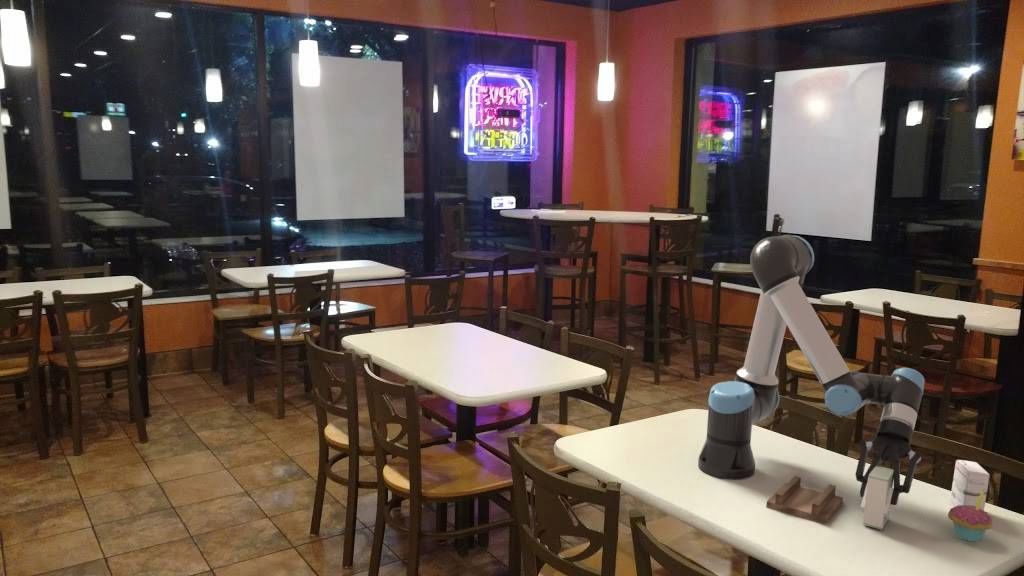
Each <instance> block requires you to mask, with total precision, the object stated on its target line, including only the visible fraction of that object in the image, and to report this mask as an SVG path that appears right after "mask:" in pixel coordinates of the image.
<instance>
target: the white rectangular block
mask: <svg viewBox="0 0 1024 576" xmlns="http://www.w3.org/2000/svg"><path fill="white" fill-rule="evenodd" d="M989 482H990V473H989V472H988V471H986V469H984V468H983V467H982V466H981V465H980V464H979V463H978V462H976V461H970V460H967V459H966V460H965V459H956V460H955V465H954V473H953V477H952V483H951V484H952V485H951V493H950V498H949V506H950V507H951V508H953V507H955V506H960V505H964V506H965V505H967V506H969V505H970V506H971V505H973V506H977V503H978V500H979V497H980V494H981V491H983V490H984V489H985V490H984V492H985V493H984V496H983V499H982V502H981V505H980V509H982V510H984V511H985V506H986V500H987V494H988V489H989V488H988V487H989Z"/></svg>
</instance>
